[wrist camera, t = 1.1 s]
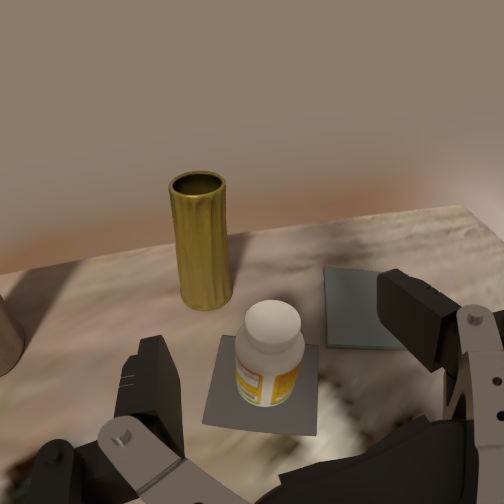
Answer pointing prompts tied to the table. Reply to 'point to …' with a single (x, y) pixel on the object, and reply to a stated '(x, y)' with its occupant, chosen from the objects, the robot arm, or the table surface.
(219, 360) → the dark gray tile
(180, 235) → the vase
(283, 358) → the supplement bottle
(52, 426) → the table surface
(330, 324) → the slate pad
